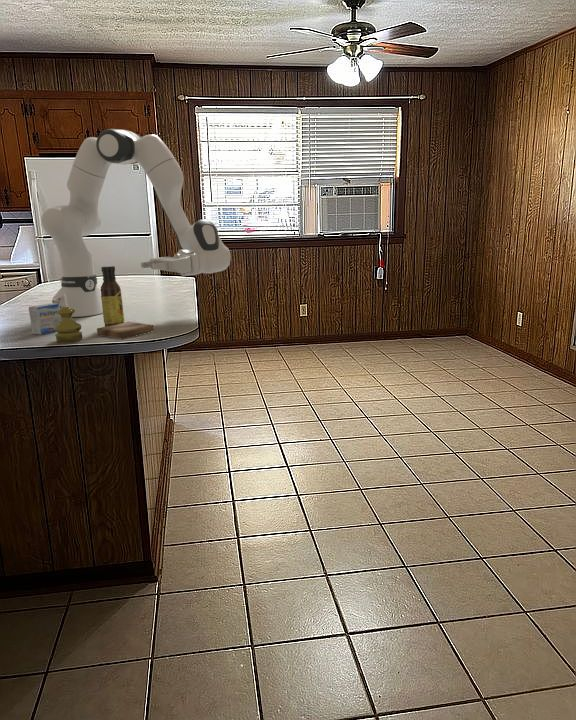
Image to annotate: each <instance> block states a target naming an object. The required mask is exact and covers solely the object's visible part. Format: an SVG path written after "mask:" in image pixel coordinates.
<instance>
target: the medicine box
mask: <svg viewBox="0 0 576 720" xmlns="http://www.w3.org/2000/svg"><path fill="white" fill-rule="evenodd" d="M58 310H59V305H58V304H55V303H52V302H51V303H45V304H39V305H34V306H29V307H28V313H29V319H30V325H31V326H30V327H31V331H32V334H33V335H40V336H42V334H43V335H46V333H47V334H51V333H55V329H54V328H55V326H56V325H58V324H59V322H60V321H61V319H62V318H60V315H59V314H57V311H58ZM50 332H51V333H50Z"/></svg>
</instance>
